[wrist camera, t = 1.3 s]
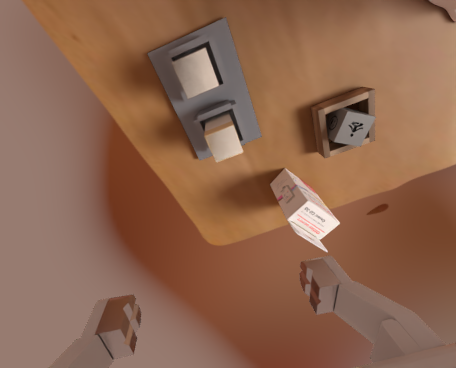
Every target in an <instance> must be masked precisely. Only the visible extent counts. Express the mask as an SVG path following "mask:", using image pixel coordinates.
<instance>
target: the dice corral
mask: <svg viewBox="0 0 456 368" xmlns="http://www.w3.org/2000/svg"><path fill="white" fill-rule="evenodd" d="M356 102H358V110H359V111H361V112H364V113H367V114H369V115H372V116H375V89H372V88H367V87H361V88H358V89H356V90H353V91H351V92H348V93H346V94H343V95H340V96H338V97H335V98H333V99H330V100H328V101H325V102H322V103H320V104H317V105H315V106H312V107H311V113H312V119H313V125H314V132H315V138H316V144H317V150H318V153H319V154H321V155H322V156H323V157H324V158H328V157H330V156H333V155H336V154H339V153H342V152H344V151H347V150H350V149H353V148H356V147H358V146H354V145H348V144H343V143H337V142H331V143H329V142H328V134H327V126H326V118H325V114H328V113H330V112H333V111H335V110H338V109H341V108H343V107H346V106H349V105H351V104H354V103H356ZM372 141H375V120H374V122H373V124H372V126H371V127H370V129H369V131H368V133H367V135H366V137H365V139H364V141H363V143H362V145H364V144H367V143H370V142H372Z"/></svg>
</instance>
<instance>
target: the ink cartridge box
mask: <svg viewBox="0 0 456 368" xmlns="http://www.w3.org/2000/svg"><path fill="white" fill-rule="evenodd" d="M270 186H271V188H272V190H273V192H274V194H275V196H276V198H277V201H278V203H279V205H280V207H281V209H282V211H283V213H284V215H285V217H286V219H287V221H288V222H289V224H290V225H291V227H292V228H293V230H294V231H295V233H297V234H298V235H300V236H301V237H303V238H304V239H306V240H307V241H309V242H311V243H312V244H314V245H316V246H317V247H319V248H321V249H322V250H324V251H326V252H328V251H327V250H326V248H325V247H324V246H323V244H322V243H321V242H320V241H319V240H320V239H322V238H323V237H324V236H325V235H326V234H328V233H329V232H330V231H331V230H332V229H334V228H335V227H336V226H338V225H339V224H340V223H339V221H338V220H337V219H336V218H335V216H334V215H333V214H332V213H331V212H330V210H329V209H328V208H327V207H326V205H325V204H324V203H323V201H322V200H321V199H320V198H319V196H318V195H317V194H316V192H315V191H314V190H313V189H312V188H311V187H310V186H308V185H307V184H306V183H304V182H303V181H302V180H300V179H299V178H298V177H296V176H295V175H294V174H292V173H291V172H290V171H288V170H287V169H286V168H284V169H283V171H282V172H281V173H280V174H279V175H278V176H277V177H276V178H275V179H274V180H273V182H272V183H271V184H270ZM303 233H304V234H305V235H304V234H303ZM306 235H307V236H308V237H310V238H311V239H310V238H308V237H307V236H306ZM312 239H313V240H312Z"/></svg>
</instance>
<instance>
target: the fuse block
mask: <svg viewBox="0 0 456 368" xmlns="http://www.w3.org/2000/svg"><path fill="white" fill-rule="evenodd" d="M205 47H206V50H207V52H208V55H209V58H210V61H211V64H212V66H213V69H214V72H215V75H216V77H217V80H218V83H219V86H218V87H216V88H214V89H211V90H209V91H206V92H204V93H202V94H199V95H197V96H195V97H192V98H190V99H187V97H186V94H185V92H184V90H183V88H182V85H181V83H180V81H179V79H178V77H177V74H176V72H175V70H174V68H173V65H172V63H171V62H173V61H176V60H178V59H180V58H182V57H185V56H187V55H189V54H191V53H194V52H196V51H198V50H200V49H202V48H205ZM147 54H148V56H149V58H150V60H151V62H152V64H153V66H154V68H155V70H156V73H157V75H158V77H159V79H160V81H161V83H162V85H163V87H164V89H165V91H166V93H167V95H168V97H169V99H170V101H171V103H172V105H173V107H174V109H175V111H176V113H177V115H178V117H179V119H180V121H181V123H182V125H183V127H184V129H185V131H186V134H187V136H188V138H189V140H190V142H191V144H192V146H193V148H194V150H195V152H196V154H197V156H198V158H199V160H202V159H205V158H208V157H210V156H213V154H212V152H211V150H210V148H209V146H208V143H207V141H206V139H205V137H204V133H205V122H206V119H207V118H210V117H212V116H215V115H217V114H220V113H222V112H225V111H227V110H228V111H229V114H230V117H231V120H232V121H233V124H234V127H235V130H236V133H237V135H238V138H239V141H240V144H241V146H242V145H245V143H247V142H250V141H252V140H255V139H257V138H260V137H262V136H261V132H260V129H259V126H258V122H257V119H256V116H255V112H254V109H253V106H252V102H251V99H250V96H249V92H248V89H247V86H246V82H245V79H244V76H243V72H242V69H241V66H240V63H239V59H238V56H237V53H236V49H235V46H234V43H233V39H232V36H231V33H230V29H229V26H228V23H227V19H226V17H225V18H223V19H221V20H219V21H217V22H214V23H212V24H210V25H208V26H206V27H204V28H201V29H199V30H197V31H195V32H193V33H191V34H188V35H186V36H184V37H182V38H180V39H177V40H175V41H173V42H171V43H169V44H167V45H164V46H162V47H160V48H158V49H156V50H154V51H151V52H149V53H147Z"/></svg>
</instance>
